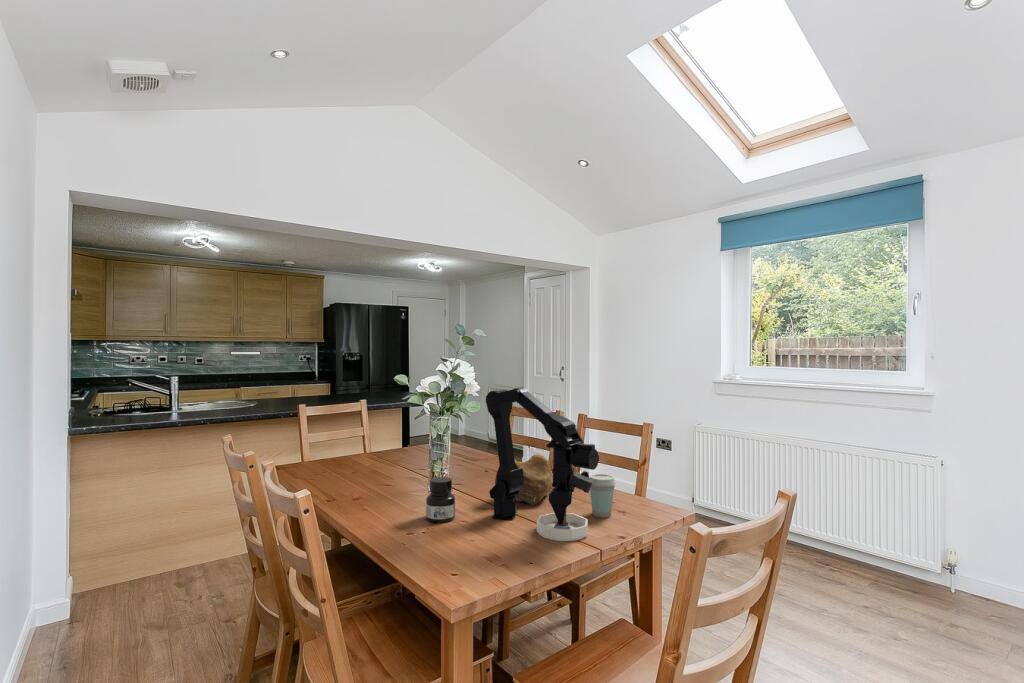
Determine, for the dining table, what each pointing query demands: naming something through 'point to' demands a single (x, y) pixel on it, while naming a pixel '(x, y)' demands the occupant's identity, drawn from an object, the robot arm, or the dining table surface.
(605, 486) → the coffee cup
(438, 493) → the ink bottle
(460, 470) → the dining table surface
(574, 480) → the robot arm
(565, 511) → the tall wooden post
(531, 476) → the tan rock
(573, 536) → the octagonal white tray
